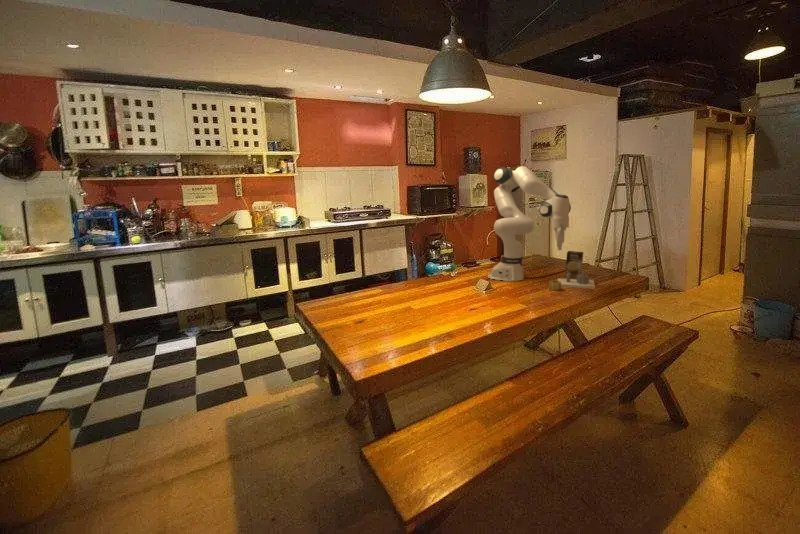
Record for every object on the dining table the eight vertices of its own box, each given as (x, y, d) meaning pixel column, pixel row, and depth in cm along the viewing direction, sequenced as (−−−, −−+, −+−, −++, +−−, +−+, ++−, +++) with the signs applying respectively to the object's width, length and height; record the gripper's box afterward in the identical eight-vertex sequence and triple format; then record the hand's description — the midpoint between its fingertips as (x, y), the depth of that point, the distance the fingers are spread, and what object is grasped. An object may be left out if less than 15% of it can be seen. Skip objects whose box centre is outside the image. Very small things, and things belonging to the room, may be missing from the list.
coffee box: (564, 277, 251) (566, 252, 247) (566, 275, 256) (568, 250, 252) (580, 278, 246) (582, 253, 242) (581, 276, 251) (583, 251, 248)
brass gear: (551, 291, 224) (551, 283, 223) (547, 287, 230) (547, 280, 229) (562, 290, 224) (563, 283, 223) (558, 287, 230) (558, 280, 229)
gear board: (557, 286, 233) (557, 274, 231) (557, 280, 244) (558, 269, 243) (594, 288, 225) (595, 277, 223) (593, 282, 237) (594, 271, 235)
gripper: (567, 226, 210) (566, 251, 213) (565, 222, 229) (564, 245, 232) (554, 226, 212) (553, 251, 215) (553, 222, 231) (552, 245, 234)
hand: (559, 248), depth 223 cm, fingers open, 8 cm apart
